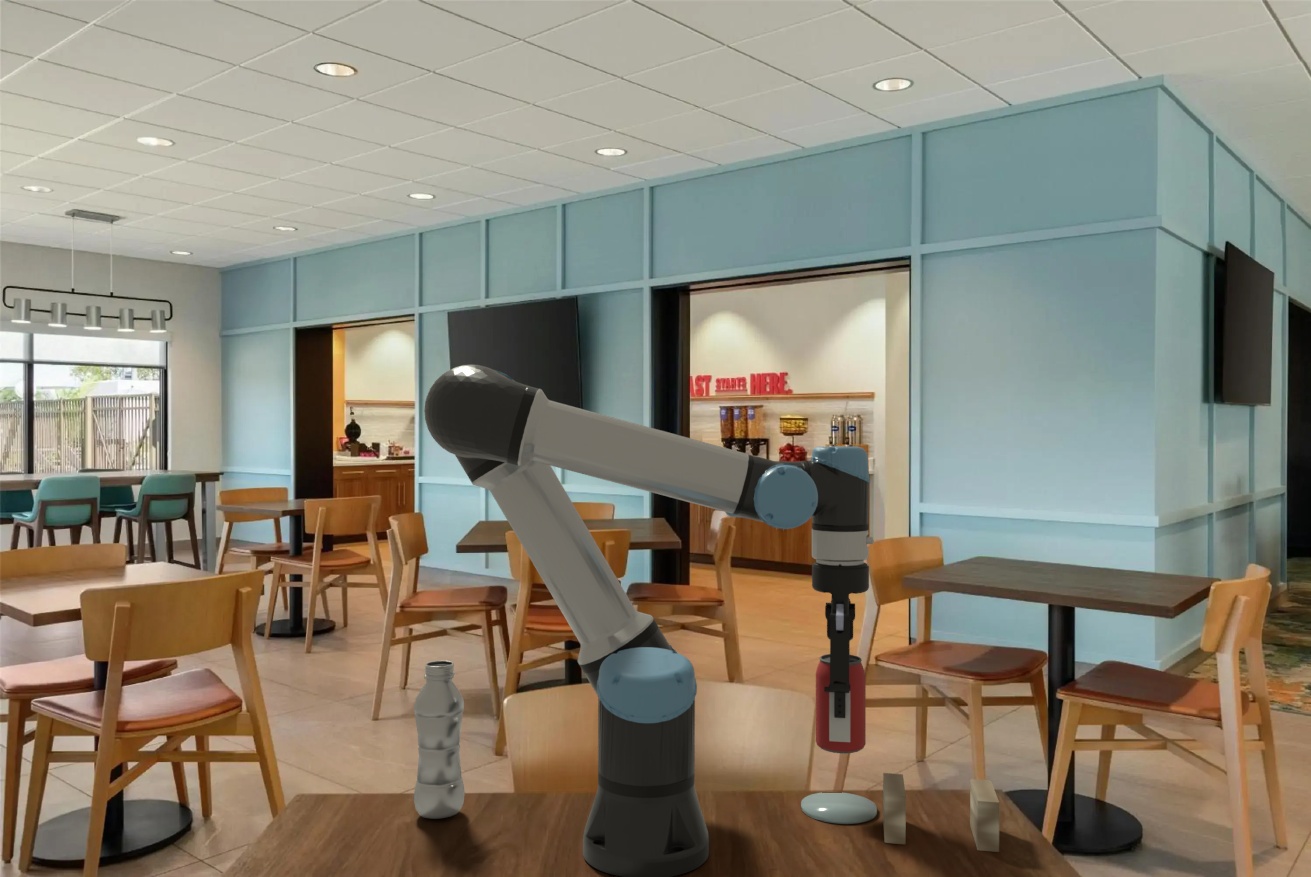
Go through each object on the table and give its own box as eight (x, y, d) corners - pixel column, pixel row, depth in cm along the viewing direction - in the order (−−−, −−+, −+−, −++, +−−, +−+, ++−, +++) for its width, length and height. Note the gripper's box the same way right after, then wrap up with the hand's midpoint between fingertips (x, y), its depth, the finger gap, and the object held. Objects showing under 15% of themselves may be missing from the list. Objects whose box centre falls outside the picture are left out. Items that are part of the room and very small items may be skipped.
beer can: (865, 756, 133) (865, 664, 133) (814, 753, 134) (814, 662, 134) (865, 741, 139) (865, 653, 139) (816, 738, 140) (816, 651, 140)
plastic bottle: (475, 812, 135) (475, 661, 135) (438, 829, 129) (439, 671, 129) (439, 802, 138) (440, 655, 138) (402, 818, 133) (403, 665, 133)
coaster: (799, 820, 133) (799, 816, 133) (802, 794, 142) (803, 789, 142) (877, 826, 131) (877, 822, 131) (876, 799, 141) (876, 794, 141)
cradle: (884, 842, 126) (884, 794, 126) (882, 818, 134) (883, 773, 134) (998, 852, 123) (999, 802, 123) (990, 826, 131) (990, 780, 131)
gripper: (870, 571, 126) (869, 757, 126) (868, 553, 145) (867, 714, 145) (808, 570, 128) (808, 753, 128) (814, 552, 147) (814, 711, 147)
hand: (840, 732), depth 137 cm, fingers closed on beer can, 7 cm apart
